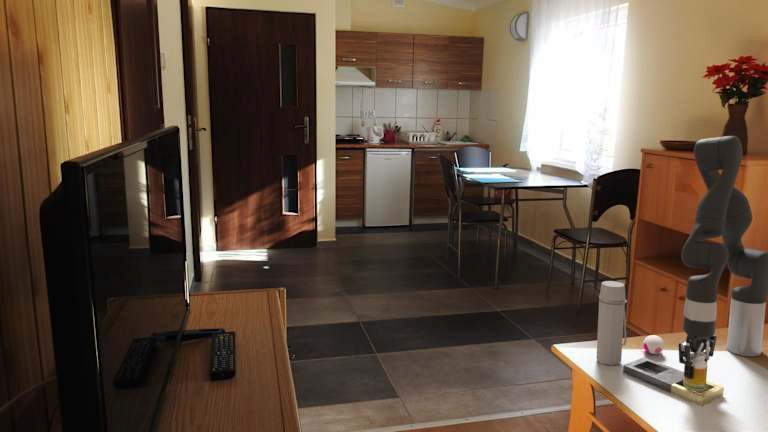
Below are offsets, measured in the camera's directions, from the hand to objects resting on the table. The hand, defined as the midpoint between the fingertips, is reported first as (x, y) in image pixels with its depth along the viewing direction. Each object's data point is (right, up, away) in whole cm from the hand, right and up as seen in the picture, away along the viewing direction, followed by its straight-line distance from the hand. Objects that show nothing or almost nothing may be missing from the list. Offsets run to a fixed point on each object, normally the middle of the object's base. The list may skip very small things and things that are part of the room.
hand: (695, 374), depth 152 cm
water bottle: (-14, -2, +22) cm, 26 cm away
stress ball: (+1, -1, +28) cm, 28 cm away
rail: (-3, -4, +7) cm, 9 cm away
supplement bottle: (0, -4, +1) cm, 4 cm away
